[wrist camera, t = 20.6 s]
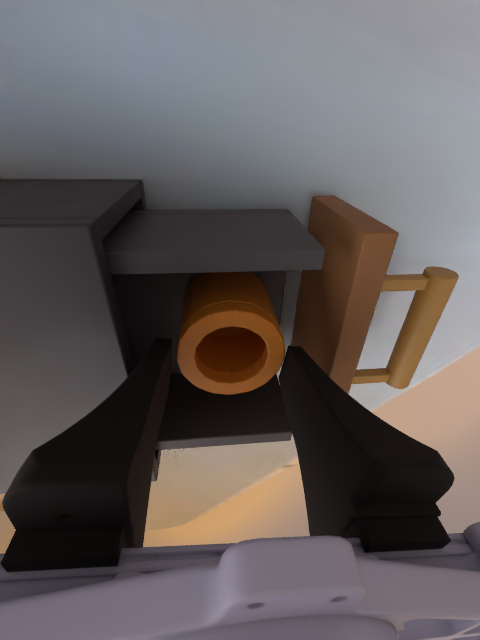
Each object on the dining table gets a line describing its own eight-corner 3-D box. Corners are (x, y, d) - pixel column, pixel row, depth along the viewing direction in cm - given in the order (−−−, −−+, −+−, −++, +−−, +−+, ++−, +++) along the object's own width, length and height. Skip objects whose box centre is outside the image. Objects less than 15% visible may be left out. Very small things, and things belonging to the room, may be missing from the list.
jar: (165, 294, 16) (153, 347, 12) (240, 248, 15) (250, 290, 11) (215, 350, 19) (217, 408, 15) (282, 313, 18) (302, 365, 14)
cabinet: (142, 179, 15) (89, 224, 8) (172, 375, 22) (157, 481, 16) (-156, 178, 14) (-496, 229, 7) (-19, 385, 21) (-123, 504, 14)
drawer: (425, 195, 16) (532, 230, 10) (366, 367, 22) (413, 440, 17) (83, 195, 14) (11, 237, 9) (131, 379, 21) (106, 463, 16)
